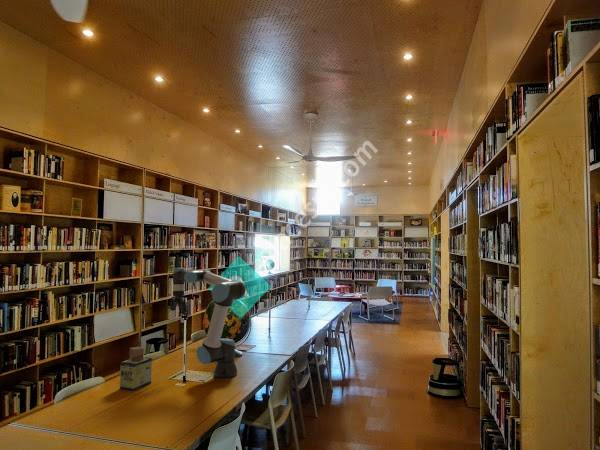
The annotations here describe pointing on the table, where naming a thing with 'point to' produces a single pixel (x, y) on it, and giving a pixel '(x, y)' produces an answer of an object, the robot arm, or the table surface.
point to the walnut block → (136, 354)
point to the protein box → (135, 374)
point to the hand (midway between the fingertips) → (177, 321)
